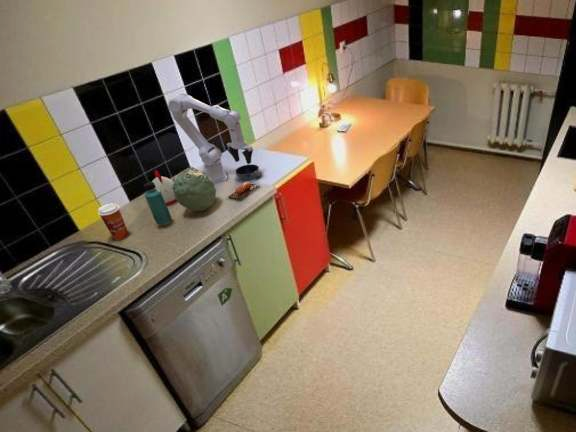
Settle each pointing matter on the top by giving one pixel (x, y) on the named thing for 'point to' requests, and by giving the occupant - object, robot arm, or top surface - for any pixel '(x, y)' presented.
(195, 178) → the cabbage
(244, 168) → the dark blue bowl
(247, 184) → the hot dog
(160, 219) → the beverage bottle
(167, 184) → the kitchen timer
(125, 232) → the paper cup
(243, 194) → the board
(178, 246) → the top surface
